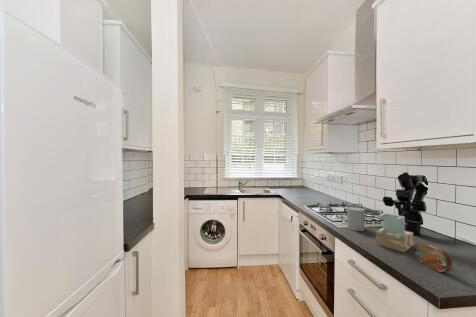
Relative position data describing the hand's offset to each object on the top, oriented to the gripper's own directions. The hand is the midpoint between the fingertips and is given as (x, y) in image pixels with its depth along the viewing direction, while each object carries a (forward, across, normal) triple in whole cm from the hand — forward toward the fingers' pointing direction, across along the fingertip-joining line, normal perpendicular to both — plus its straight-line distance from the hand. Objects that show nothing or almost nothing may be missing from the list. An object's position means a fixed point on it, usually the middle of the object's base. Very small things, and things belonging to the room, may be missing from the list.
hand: (399, 216), depth 119 cm
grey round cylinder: (+7, -24, +13) cm, 28 cm away
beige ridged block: (+14, 0, +5) cm, 15 cm away
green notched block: (+13, 0, -3) cm, 13 cm away
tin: (+24, +18, -5) cm, 31 cm away
